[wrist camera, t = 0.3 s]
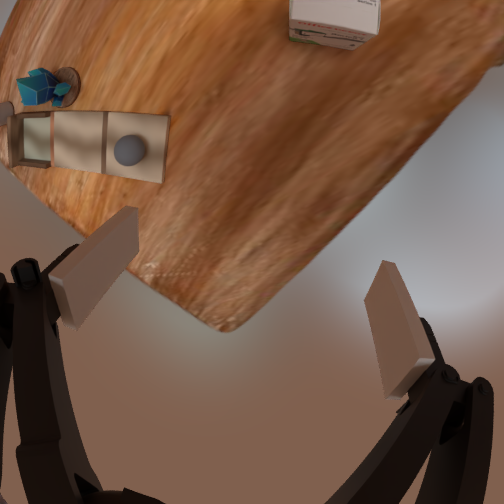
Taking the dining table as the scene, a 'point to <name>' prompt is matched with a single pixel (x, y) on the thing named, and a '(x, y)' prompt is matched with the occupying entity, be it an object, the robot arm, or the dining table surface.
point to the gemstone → (50, 87)
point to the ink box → (334, 22)
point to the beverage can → (5, 112)
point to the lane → (88, 141)
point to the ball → (129, 150)
